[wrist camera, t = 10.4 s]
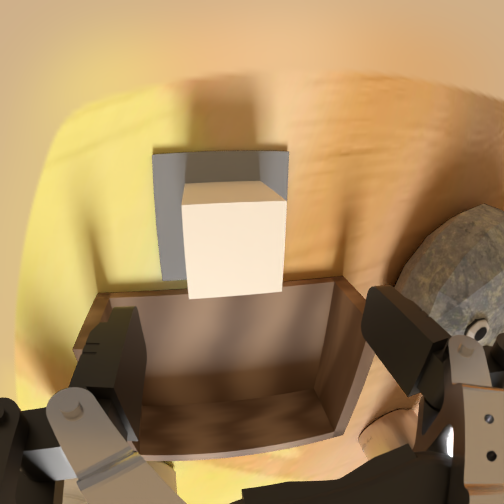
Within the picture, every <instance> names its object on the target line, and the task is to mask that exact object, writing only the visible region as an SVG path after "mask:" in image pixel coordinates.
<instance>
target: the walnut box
mask: <svg viewBox="0 0 504 504" xmlns="http://www.w3.org/2000/svg"><path fill="white" fill-rule="evenodd" d="M365 303H366V300H365V299H364V298H363V296H362V295H361V294H360V293H359V292H358V291H357V290H356V289H355V288H354V287H353V286H352V285H351V284H350V283H349V282H348V281H347V280H346V279H345V278H344V277H343V276H338V277H328V278H318V279H307V280H296V281H285V282H282V292H273V293H262V294H251V295H239V296H227V297H214V298H200V299H189V294H188V289H176V290H158V291H139V292H117V293H98V294H97V296H96V298H95V300H94V302H93V304H92V306H91V308H90V310H89V313H88V315H87V317H86V319H85V321H84V324H83V326H82V328H81V330H80V333H79V335H78V337H77V340H76V342H75V344H74V347H73V352H74V354H75V357H76V359H77V361H79V358H80V355H81V354H82V350H83V348H84V345H86V340H87V338H88V336H89V333H90V331H91V330H92V329H94V328H95V327H96V326H97V325H98V324H99V323H100V322H108V319H109V317H110V314H111V312H112V309H113V307H124V306H136V307H137V309H138V312H139V317H140V322H141V326H142V331H143V335H144V339H145V344H146V350H147V364H146V372H145V380H144V388H143V397H142V406H141V417H140V428H139V441H127V443H128V444H129V446H130V447H131V448H132V449H133V450H134V451H137V452H138V453H139V454H140V455H141V456H142V457H143V458H144V460H145V461H188V460H206V459H218V458H228V457H237V456H245V455H252V454H259V453H265V452H271V451H277V450H282V449H287V448H292V447H297V446H302V445H306V444H310V443H314V442H318V441H322V440H326V439H330V438H334V437H337V436H341V435H343V434H344V432H345V429H346V427H347V425H348V423H349V420H350V418H351V416H352V413H353V411H354V409H355V406H356V404H357V401H358V399H359V396H360V394H361V391H362V388H363V386H364V383H365V380H366V378H367V375H368V372H369V369H370V367H371V364H372V361H373V358H374V355H375V352H374V351H373V350H372V348H371V347H370V346H369V344H368V343H367V342H366V341H365V339H364V338H363V336H362V332H361V320H362V316H363V312H364V307H365Z"/></svg>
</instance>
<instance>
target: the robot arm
mask: <svg viewBox="0 0 504 504" xmlns="http://www.w3.org/2000/svg"><path fill="white" fill-rule="evenodd" d="M361 332H362V336H363V338H364V339H365V341H366V342H367V343H368V344H369V346H370V347H371V348H372V350H373V351H374V352H375V354H376V355H377V356H378V358H379V359H380V360H381V362H382V363H383V364H384V366H385V367H386V368H387V370H388V371H389V372H390V374H391V375H392V376H393V378H394V379H395V380H396V382H397V383H398V384H399V386H400V387H401V388H402V390H403V391H404V392H405V394H406V395H407V396H408V397H410V396H412V395H415V394H418V393H420V392H421V393H422V395H423V396H422V397H421V399H420V402H419V412H418V416H417V415H416V414H415V412H414V411H413V409H409V410H405V409H400V410H396V411H393V412H391V413H388V414H386V415H384V416H383V417H381V418H379V419H378V420H376V421H375V422H373V423H372V424H371V425H370V426H368V427H367V428H366V429H365V430H364V431H363V432H362V434H361V435H360V437H359V443H360V445H361V447H362V450H363V452H364V453H365V455H366V457H367V458H368V462H366V463H365V464H363V465H361V466H360V467H358V468H357V469H355V470H354V471H352V472H350V473H349V474H347V475H345V476H344V477H342V478H340V479H337V480H327V481H297V482H284V483H279V484H273V485H267V486H261V487H255V488H247V489H242V499H240V500H238V501H235V502H232V503H230V504H504V333H500V334H499V335H498V336H497V338H496V340H495V342H494V344H493V346H486V347H482V345H481V344H480V343H479V342H478V341H476V340H475V339H473V338H471V337H469V336H465V335H455V336H453V337H452V336H451V335H450V334H449V333H448V332H447V331H446V330H444V329H443V328H442V327H441V326H440V325H439V324H438V323H437V322H436V321H435V320H434V319H432V318H431V317H429V315H428V314H427V313H426V312H425V311H422V309H421V308H420V307H419V306H418V305H417V304H416V303H415V302H413V301H412V300H410V299H408V298H406V297H404V296H403V295H402V294H401V293H400V292H398V291H397V290H396V289H395V288H394V287H393V286H391V285H382V286H374V287H371V288H370V289H369V291H368V293H367V298H366V303H365V307H364V312H363V316H362V320H361ZM146 364H147V350H146V344H145V339H144V335H143V331H142V326H141V322H140V317H139V312H138V309H137V307H136V306H124V307H113V309H112V312H111V314H110V317H109V319H108V322H100V323H99V324H98V325H97V326H96V327H95V328H94V329H92V330H91V331H90V333H89V336H88V338H87V340H86V345H84V348H83V350H82V354H81V355H80V358H79V361H78V363H77V366H76V369H75V371H74V374H73V377H72V379H71V382H70V385H69V388H66V389H63V390H61V391H59V392H57V393H56V394H54V395H53V396H52V397H51V399H50V400H49V402H48V404H47V407H45V408H40V409H33V410H26V411H21V410H20V408H19V407H18V405H17V404H16V403H15V402H14V401H13V400H11V399H9V398H0V504H62V502H63V490H64V480H66V479H73V478H78V481H76V482H77V485H78V488H79V489H80V491H81V493H82V495H83V496H84V498H85V499H86V501H87V502H88V504H186V503H185V502H184V501H183V500H182V499H181V498H180V497H179V496H178V495H177V494H176V493H175V492H174V491H173V490H172V489H171V488H170V487H169V486H168V485H167V484H166V483H165V482H164V481H163V480H162V479H161V477H160V476H159V475H158V474H157V473H156V472H155V471H154V470H153V469H152V468H151V466H150V465H149V464H148V463H147V462H146V461H145V460H144V458H143V457H142V456H141V455H140V454H139V453H138V452H137V451H134V450H133V449H132V448H131V447H130V446H129V444H128V443H127V441H139V428H140V417H141V406H142V397H143V388H144V380H145V372H146Z"/></svg>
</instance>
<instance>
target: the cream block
mask: <svg viewBox="0 0 504 504" xmlns="http://www.w3.org/2000/svg"><path fill="white" fill-rule="evenodd" d="M181 206H182V223H183V238H184V251H185V263H186V274H187V285H188V294H189V299H200V298H214V297H227V296H239V295H251V294H262V293H273V292H282V282H283V266H284V249H285V230H286V209H287V201H286V200H285V199H284V198H282V197H281V196H280V195H278V194H277V193H276V192H274V191H273V190H272V189H271V188H269V187H268V186H267V185H265V184H264V183H263V182H261V181H232V182H206V183H187V184H185V186H184V192H183V198H182V205H181Z"/></svg>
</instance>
